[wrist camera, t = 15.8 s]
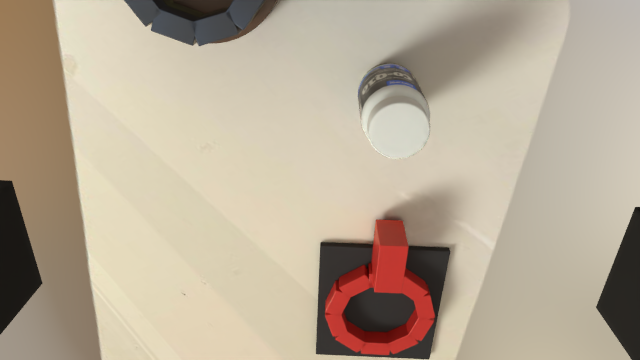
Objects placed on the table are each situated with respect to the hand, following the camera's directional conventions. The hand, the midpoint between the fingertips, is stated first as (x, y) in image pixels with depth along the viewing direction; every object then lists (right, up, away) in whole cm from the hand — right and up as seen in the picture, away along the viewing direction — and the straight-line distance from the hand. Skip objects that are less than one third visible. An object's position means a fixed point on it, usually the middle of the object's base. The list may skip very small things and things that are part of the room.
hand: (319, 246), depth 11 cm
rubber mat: (+6, -11, +38) cm, 40 cm away
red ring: (+6, -9, +36) cm, 38 cm away
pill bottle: (+5, +9, +28) cm, 30 cm away
